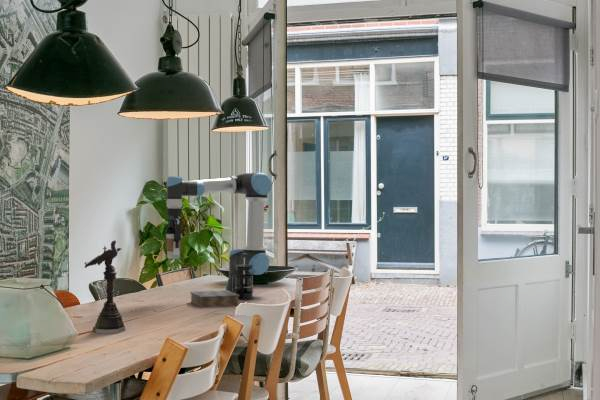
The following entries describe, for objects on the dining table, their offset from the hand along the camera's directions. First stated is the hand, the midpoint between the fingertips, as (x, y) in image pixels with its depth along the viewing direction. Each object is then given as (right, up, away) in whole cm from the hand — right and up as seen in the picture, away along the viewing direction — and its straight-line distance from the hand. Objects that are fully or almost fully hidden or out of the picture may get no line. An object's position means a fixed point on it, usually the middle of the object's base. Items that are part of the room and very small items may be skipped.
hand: (173, 254), depth 357 cm
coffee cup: (0, -2, 0) cm, 2 cm away
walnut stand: (+21, -23, -8) cm, 33 cm away
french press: (+33, -24, +11) cm, 42 cm away
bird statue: (-13, -23, -82) cm, 87 cm away
